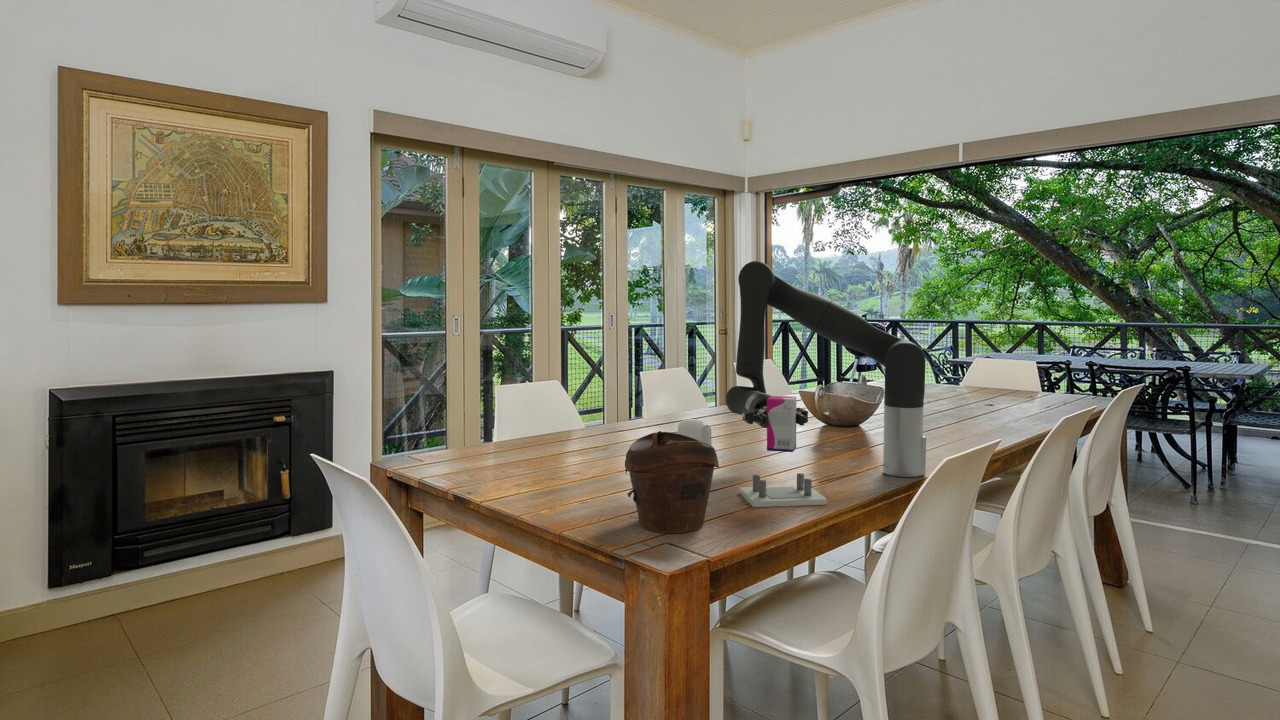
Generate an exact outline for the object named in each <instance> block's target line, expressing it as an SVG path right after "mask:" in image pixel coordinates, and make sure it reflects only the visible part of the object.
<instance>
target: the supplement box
mask: <svg viewBox="0 0 1280 720" xmlns="http://www.w3.org/2000/svg"><path fill="white" fill-rule="evenodd" d="M796 408H797V396H789V395H788V396H785V395H784V396H782V395H771V397H769V398H768V399H767V416H768V426H767V428H766V451H767V452H784V453H785V452H787V453H793V452H795V450H796V448H797V423H796Z"/></svg>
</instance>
